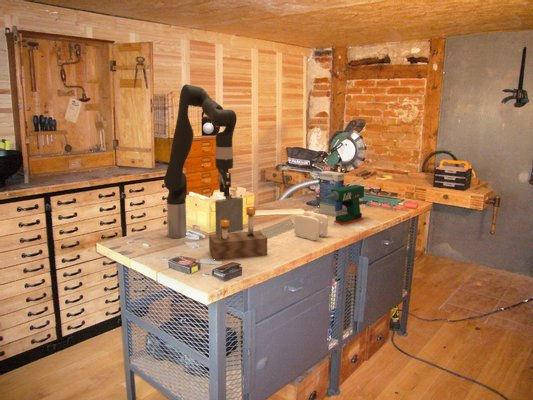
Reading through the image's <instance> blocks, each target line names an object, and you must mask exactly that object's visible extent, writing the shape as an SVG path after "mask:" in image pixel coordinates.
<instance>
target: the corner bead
mask: <svg viewBox="0 0 533 400" xmlns="http://www.w3.org/2000/svg"><path fill="white" fill-rule="evenodd" d="M294 225H295V222H293V220H292V218H288V219H285V220H282V221H279V222H277V223H274V224H272V225H269V226H266V227H263V228H261V229H258V230H257V231H260V232H261V233H262V234H264V235H265V236H266V237H267V240H269V239H272V238H274V237H277V236H278V235H281V234H283V233H286V232H289V231H291V230H294Z"/></svg>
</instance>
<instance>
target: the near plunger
mask: <svg viewBox="0 0 533 400" xmlns="http://www.w3.org/2000/svg"><path fill="white" fill-rule="evenodd" d="M220 228H222V239H228V233H229V232H228V228H229V220H226V219H224V220H220Z"/></svg>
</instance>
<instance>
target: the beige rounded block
mask: <svg viewBox="0 0 533 400" xmlns="http://www.w3.org/2000/svg"><path fill="white" fill-rule="evenodd" d="M293 226H294V229H293V231H294V235H295V236H297V237H298V238H302V239H308V240H309V241H312V240H313V241H316V240H318V239H319V238H321V237H322V238H323V237H325V236H328V233H329V232H328V231H329V230H328V229H329V228H328V227H329V217H328V215H325V214H321V213H316V212H312V211H305V212H303V213H302V214H297V215H295V216H294V225H293ZM320 236H321V237H320Z"/></svg>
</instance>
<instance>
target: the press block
mask: <svg viewBox="0 0 533 400" xmlns="http://www.w3.org/2000/svg"><path fill="white" fill-rule="evenodd" d="M208 244H209V247H208V248H209V253H210V255H211V256H212V258H213V260H214V259H215V260H216V261H223V260H233V259H242V258H243V259H244V258H252V257H253V258H254V257H263V256H268V238H267V237H266V236H265V235H264V233H263V234H262V233H261V232H260V231H258V230H253V236H251V237H248V231H241V232H240V231H236V232H228V239H222V234H216V233H215V234H208ZM215 260H214V261H215Z"/></svg>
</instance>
